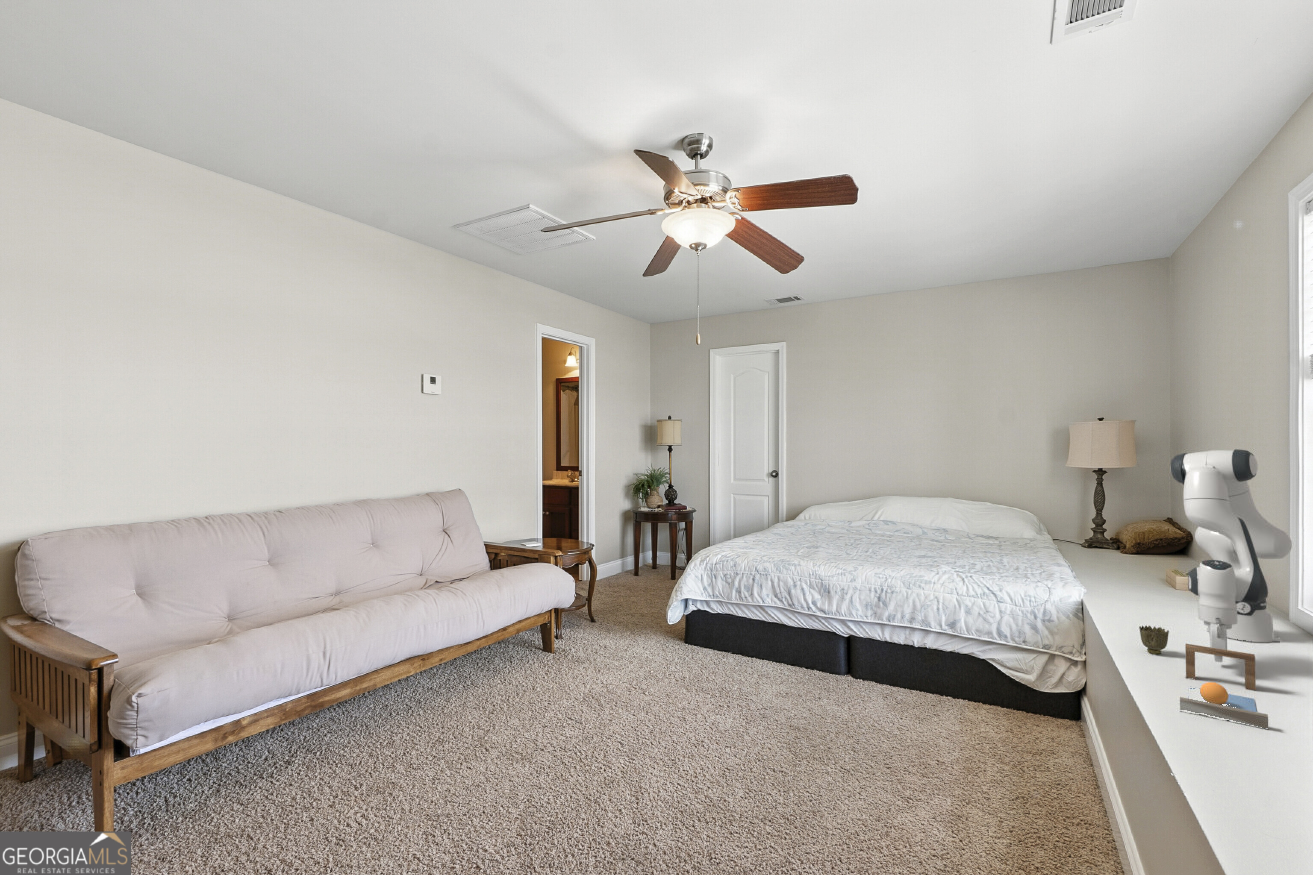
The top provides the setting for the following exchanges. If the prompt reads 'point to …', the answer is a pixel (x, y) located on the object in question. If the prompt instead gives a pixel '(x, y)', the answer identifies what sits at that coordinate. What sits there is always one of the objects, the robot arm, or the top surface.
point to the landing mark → (1240, 702)
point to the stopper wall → (1225, 712)
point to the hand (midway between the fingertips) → (1218, 660)
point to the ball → (1214, 693)
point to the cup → (1154, 639)
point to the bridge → (1249, 658)
